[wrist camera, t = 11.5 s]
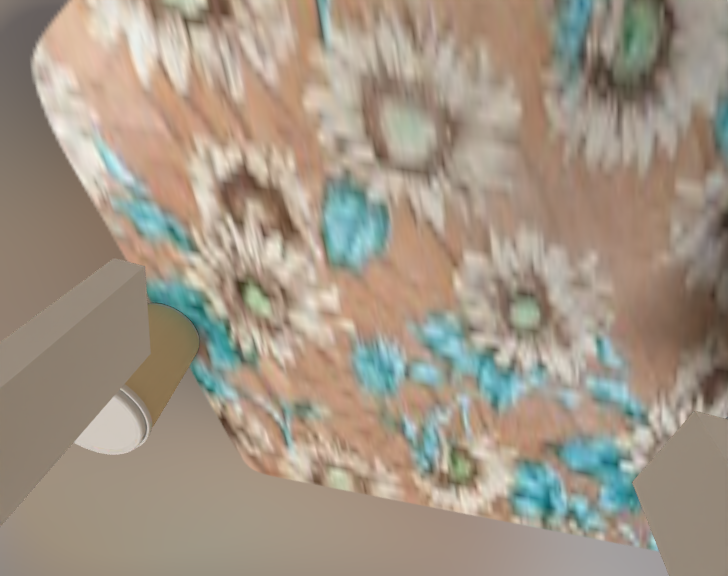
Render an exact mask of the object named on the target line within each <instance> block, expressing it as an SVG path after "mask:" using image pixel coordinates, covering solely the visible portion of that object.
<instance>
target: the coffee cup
mask: <svg viewBox="0 0 728 576" xmlns="http://www.w3.org/2000/svg"><path fill="white" fill-rule="evenodd" d="M148 319H149V334H150V349H151V354H150V355H149V356H148V357H147V359H146V360H145V361H144V362H143V363H142V364H141V365H140V367H139V368H138V369H137V370H136V371H135V372H134V374H133V375H132V376H131V377H130V378H129V379H128V380H127V382H126V383H125V384H124V385H123V386H122V387H121V388H120V390H119V391H118V392H117V393H116V394H115V395H114V397H113V398H112V399H111V400H110V401H109V402H108V403H107V405H106V406H105V407H104V408H103V409H102V410H101V412H100V413H99V414H98V415H97V416H96V417H95V418H94V420H93V421H92V422H91V423H90V424H89V425H88V427H87V428H86V429H85V430H84V431H83V432H82V433H81V435H80V436H79V437H78V438H77V439H76V440H75V441H74V443H76V444H77V445H79V446H82V447H84V448H86V449H89V450H92V451H95V452H98V453H103V454H123V453H127V452H130V451H132V450H134V449H135V448H137V447H139V446H140V445H142V444H143V443H144V442H145V441H146V440H147V438H148V437H149V435H150V433H151V430H152V427H153V426H154V424H155V423H156V421H157V419H158V418H159V416H160V414H161V413H162V411H163V409H164V408H165V406H166V404H167V403H168V401H169V399H170V398H171V396H172V394H173V393H174V391H175V389H176V388H177V386H178V384H179V383H180V381H181V379H182V378H183V376H184V374H185V372H186V371H187V369H188V367H189V366H190V364H191V362H192V361H193V359H194V357H195V355H196V353H197V351H198V349H199V335H198V332H197V330H196V328H195V326H194V325H193V323H192V322H191V321H190V320H189V319H188V318H187V317H186V316H185V315H184V314H182V313H181V312H179V311H178V310H176V309H174V308H172V307H170V306H167V305H164V304H159V303H148Z"/></svg>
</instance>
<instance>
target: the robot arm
mask: <svg viewBox="0 0 728 576" xmlns="http://www.w3.org/2000/svg"><path fill="white" fill-rule="evenodd" d="M150 354H151V349H150V334H149V319H148V304H147V289H146V273H145V266H142V265H138V264H134V263H130V262H127V261H123V260H119V259H115V258H113V259H112V260H111V261H109V262H108V263H107V264H105V265H104V266H103V267H101V268H100V269H99V270H97V271H96V272H95V273H93V274H92V275H90V276H89V277H88V278H86V279H85V280H84V281H83V282H81V283H80V284H78V285H77V286H76V287H74V288H73V289H71V290H70V291H69V292H68V293H66V294H65V295H63V296H62V297H61V298H59V299H58V300H57V301H55V302H54V303H53V304H51V305H50V306H49V307H47V308H46V309H44V310H43V311H42V312H40V313H39V314H38V315H36V316H35V317H34V318H32V319H31V320H29V321H28V322H27V323H25V324H24V325H23V326H22V327H20V328H19V329H17V330H16V331H15V332H13V333H12V334H11V335H9V336H8V337H6V338H5V339H4V340H2V341H1V342H0V527H1V526H2V524H3V523H4V522H5V521H6V520H7V519H8V518H9V516H10V515H11V514H12V513H13V512H14V511H15V509H16V508H17V507H18V506H19V505H20V504H21V503H22V501H23V500H24V499H25V498H26V497H27V496H28V494H29V493H30V492H31V491H32V490H33V489H34V488H35V486H36V485H37V484H38V483H39V482H40V481H41V479H42V478H43V477H44V476H45V475H46V474H47V473H48V471H49V470H50V469H51V468H52V467H53V466H54V464H55V463H56V462H57V461H58V460H59V459H60V458H61V456H62V455H63V454H64V453H65V452H66V451H67V449H68V448H69V447H70V446H71V445H72V444H73V443H74V441H75V440H76V439H77V438H78V437H79V436H80V435H81V433H82V432H83V431H84V430H85V429H86V428H87V427H88V425H89V424H90V423H91V422H92V421H93V420H94V418H95V417H96V416H97V415H98V414H99V413H100V412H101V410H102V409H103V408H104V407H105V406H106V405H107V403H108V402H109V401H110V400H111V399H112V398H113V397H114V395H115V394H116V393H117V392H118V391H119V390H120V388H121V387H122V386H123V385H124V384H125V383H126V382H127V380H128V379H129V378H130V377H131V376H132V375H133V374H134V372H135V371H136V370H137V369H138V368H139V367H140V365H141V364H142V363H143V362H144V361H145V360H146V359H147V357H148V356H149V355H150ZM632 483H633V486H634V488H635V491H636V493H637V496H638V498H639V501H640V503H641V506H642V508H643V511H644V513H645V516H646V519H647V521H648V524H649V526H650V529H651V531H652V534H653V536H654V539H655V541H656V544H657V546H658V549H659V552H660V554H661V557H662V559H663V562H664V564H665V566H666V569H667V572H668V574H669V576H728V417H727V418H725V419H724V418H720V417H716V416H712V415H709V414H705V413H701V412H697V411H694V412H693V413H692V414H691V416H690V417H689V418H688V419H687V420H686V421H685V422H684V424H683V425H682V426H681V427H680V428H679V429H678V430H677V432H676V433H675V434H674V435H673V436H672V437H671V438H670V440H669V441H668V442H667V443H666V444H665V445H664V446H663V448H662V449H661V450H660V451H659V452H658V453H657V455H656V456H655V457H654V458H653V459H652V460H651V461H650V463H649V464H648V465H647V466H646V467H645V468H644V469H643V471H642V472H641V473H640V474H639V475H638V476H637V477H636V479H635V480H634V481H633V482H632Z"/></svg>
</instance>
